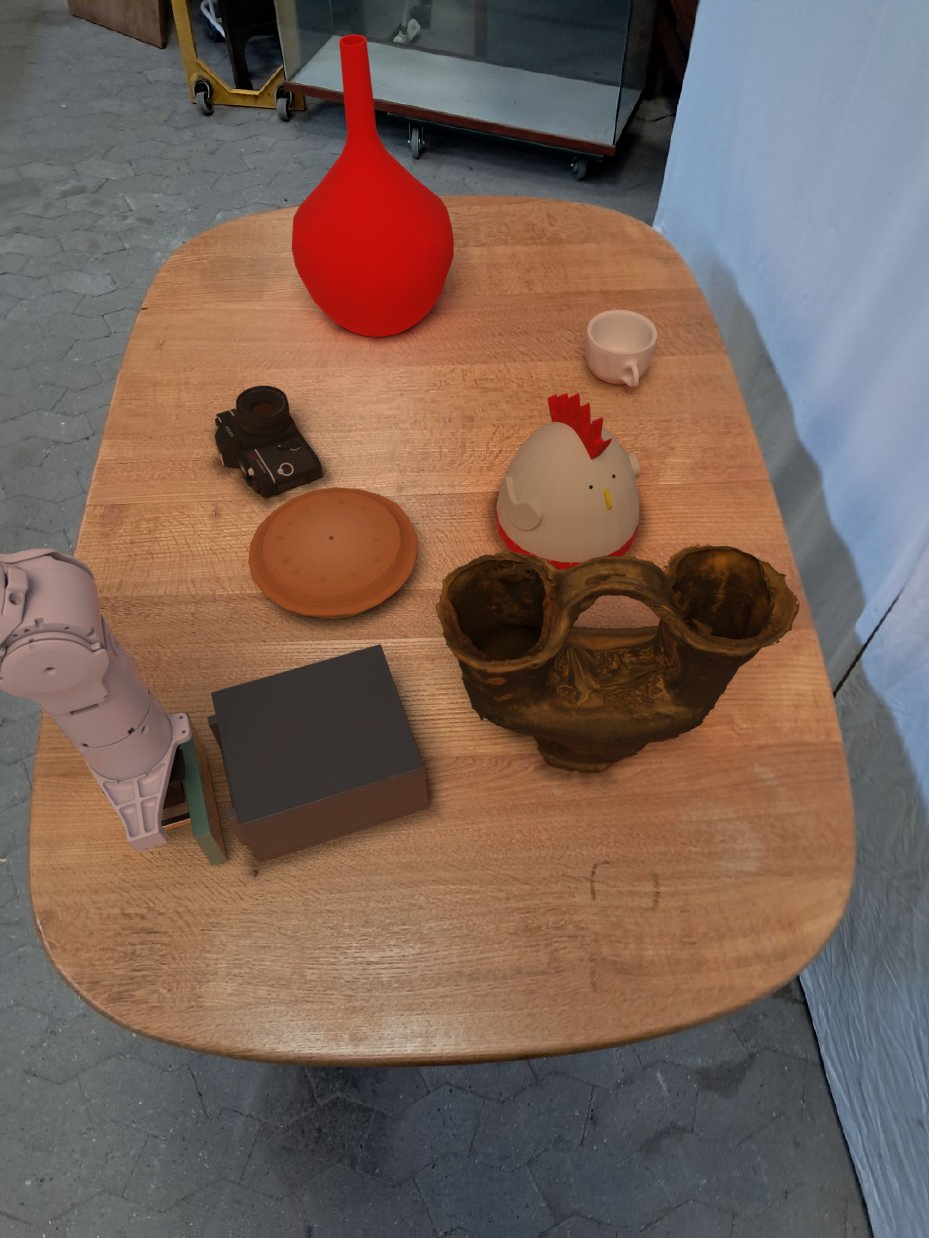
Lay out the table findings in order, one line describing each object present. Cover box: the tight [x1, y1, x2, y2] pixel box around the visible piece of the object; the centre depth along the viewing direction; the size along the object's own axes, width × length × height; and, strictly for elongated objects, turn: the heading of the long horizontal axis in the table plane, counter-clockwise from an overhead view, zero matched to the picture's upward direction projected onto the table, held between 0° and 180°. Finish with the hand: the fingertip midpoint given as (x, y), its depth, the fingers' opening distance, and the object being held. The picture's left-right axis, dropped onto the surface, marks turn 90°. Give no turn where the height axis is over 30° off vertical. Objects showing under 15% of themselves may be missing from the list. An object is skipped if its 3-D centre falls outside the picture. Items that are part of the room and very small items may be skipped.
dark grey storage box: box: [210, 643, 430, 864], centre depth 71 cm, size 14×12×7 cm
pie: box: [248, 486, 419, 620], centre depth 84 cm, size 15×16×5 cm
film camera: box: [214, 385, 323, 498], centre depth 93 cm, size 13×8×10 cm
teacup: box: [584, 309, 658, 388], centre depth 100 cm, size 10×8×5 cm
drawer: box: [161, 712, 249, 867], centre depth 69 cm, size 17×10×5 cm, turn 109°
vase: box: [291, 34, 455, 338], centre depth 98 cm, size 18×18×30 cm
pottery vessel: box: [434, 543, 801, 774], centre depth 68 cm, size 25×11×20 cm, turn 92°
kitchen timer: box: [495, 392, 642, 570], centre depth 83 cm, size 14×14×15 cm
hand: (170, 798), depth 69 cm, fingers closed, pressing on drawer
